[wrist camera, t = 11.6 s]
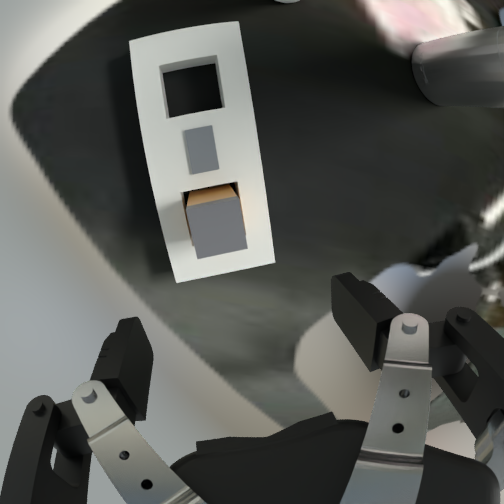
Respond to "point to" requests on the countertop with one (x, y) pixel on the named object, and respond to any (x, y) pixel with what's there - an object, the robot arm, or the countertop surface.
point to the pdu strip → (201, 144)
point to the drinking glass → (287, 1)
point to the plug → (215, 221)
